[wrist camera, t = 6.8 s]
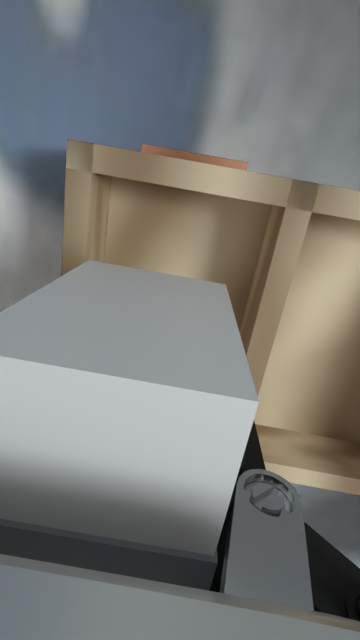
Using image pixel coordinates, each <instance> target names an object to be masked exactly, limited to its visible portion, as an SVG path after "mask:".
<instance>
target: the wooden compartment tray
mask: <svg viewBox="0 0 360 640" xmlns="http://www.w3.org/2000/svg"><path fill="white" fill-rule="evenodd" d="M247 164H248V162H243V161H237V160H231V159H226V158H220V157H215V156H209V155H204V154H198V153H192V152H187V151H181V150H176V149H170V148H164V147H159V146H153V145H148V144H142V148H141V152H139V151H133V150H127V149H122V148H116V147H111V146H105V145H100V144H94V143H88V142H83V141H77V140H72V139H67V153H66V177H65V200H64V224H63V247H62V271H61V276H63V275H64V274H66V273H68V272H69V271H71V270H73V269H75V268H76V267H78V266H80V265H81V264H83V263H85V262H87V261H88V260H92V261H97V262H103V263H109V264H114V265H120V266H125V267H131V268H137V269H142V270H148V271H153V272H159V273H165V274H170V275H176V276H181V277H187V278H193V279H198V280H204V281H210V282H215V283H221V284H226V287H227V290H228V294H229V297H230V301H231V304H232V308H233V312H234V315H235V319H236V322H237V326H238V329H239V333H240V336H241V340H242V343H243V347H244V350H245V354H246V358H247V361H248V365H249V368H250V372H251V375H252V379H253V382H254V386H255V389H256V393H257V396H258V400H259V404H258V407H257V411H256V414H255V417H254V421H255V426H256V430H257V434H258V438H259V443H260V447H261V451H262V455H263V460H264V464H265V468H266V470H268V471H271V472H273V473H276V474H278V475H280V476H281V477H283V478H284V479H286V480H287V481H288V482H290V483H295V484H300V485H306V486H311V487H317V488H322V489H327V490H333V491H338V492H344V493H349V494H354V495H360V191H357V190H351V189H345V188H340V187H334V186H329V185H323V184H317V183H312V182H306V181H301V180H295V179H289V178H284V177H278V176H273V175H267V174H262V173H256V172H250V171H246V169H247Z"/></svg>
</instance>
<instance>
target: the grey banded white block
mask: <svg viewBox="0 0 360 640" xmlns="http://www.w3.org/2000/svg"><path fill="white" fill-rule="evenodd" d="M258 404H259V400H258V396H257V393H256V389H255V386H254V382H253V379H252V375H251V372H250V368H249V365H248V361H247V358H246V354H245V350H244V347H243V343H242V340H241V336H240V333H239V329H238V326H237V322H236V319H235V315H234V312H233V308H232V304H231V301H230V297H229V294H228V290H227V287H226V284H221V283H215V282H210V281H204V280H198V279H193V278H187V277H181V276H176V275H170V274H165V273H159V272H153V271H148V270H142V269H137V268H131V267H125V266H120V265H114V264H109V263H103V262H97V261H92V260H88V261H87V262H85V263H83V264H81V265H80V266H78V267H76V268H75V269H73V270H71V271H69V272H68V273H66V274H64V275H63V276H61V277H59V278H57V279H56V280H54V281H52V282H51V283H49V284H47V285H45V286H44V287H42V288H40V289H39V290H37V291H35V292H33V293H32V294H30V295H28V296H27V297H25V298H23V299H21V300H20V301H18V302H16V303H15V304H13V305H11V306H9V307H8V308H6V309H4V310H2V311H1V312H0V554H3V555H9V556H15V557H20V558H26V559H32V560H38V561H44V562H49V563H55V564H61V565H67V566H72V567H78V568H84V569H89V570H95V571H101V572H107V573H112V574H118V575H124V576H130V577H135V578H141V579H146V580H152V581H157V582H163V583H168V584H174V585H179V586H185V587H191V588H196V589H202V590H207V591H209V590H210V587H211V583H212V580H213V577H214V574H215V570H216V567H217V564H218V561H217V544H218V541H219V537H220V534H221V531H222V527H223V524H224V520H225V517H226V513H227V510H228V507H229V503H230V500H231V496H232V493H233V489H234V486H235V483H236V479H237V476H238V472H239V469H240V465H241V462H242V459H243V455H244V452H245V448H246V445H247V441H248V438H249V435H250V431H251V428H252V424H253V421H254V417H255V414H256V411H257V407H258Z"/></svg>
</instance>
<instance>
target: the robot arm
mask: <svg viewBox="0 0 360 640" xmlns="http://www.w3.org/2000/svg"><path fill="white" fill-rule="evenodd" d="M217 561H218V564H217V567H216V570H215V574H214V577H213V580H212V583H211V587H210V590H209V591H207V590H202V589H196V588H191V587H185V586H179V585H174V584H168V583H163V582H157V581H152V580H146V579H141V578H135V577H130V576H124V575H118V574H112V573H107V572H101V571H95V570H89V569H84V568H78V567H72V566H67V565H61V564H55V563H49V562H44V561H38V560H32V559H26V558H20V557H15V556H9V555H3V554H0V640H360V569H359V568H358V567H357V566H356V565H355V564H353V563H352V562H351V561H350V560H349V559H348V558H346V557H345V556H344V555H343V554H342V553H340V552H339V551H338V550H337V549H336V548H334V547H333V546H332V545H331V544H330V543H329V542H327V541H326V540H325V539H324V538H323V537H321V536H320V535H319V534H318V533H317V532H316V531H314V530H313V529H312V528H311V527H310V526H308V525H307V524H306V523H305V522H304V516H303V507H302V502H301V499H300V496H299V494H298V493H297V491H296V489H295V488H294V487H293V486H292V485H291V484H290V483H289V482H288V481H287V480H286V479H284V478H283V477H281V476H280V475H278V474H276V473H273V472H271V471H268V470H266V468H265V464H264V460H263V455H262V451H261V447H260V443H259V438H258V434H257V430H256V426H255V421H253V424H252V428H251V431H250V435H249V438H248V441H247V445H246V448H245V452H244V455H243V459H242V462H241V465H240V469H239V472H238V476H237V479H236V483H235V486H234V489H233V493H232V496H231V500H230V503H229V507H228V510H227V513H226V517H225V520H224V524H223V527H222V531H221V534H220V537H219V541H218V544H217Z"/></svg>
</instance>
